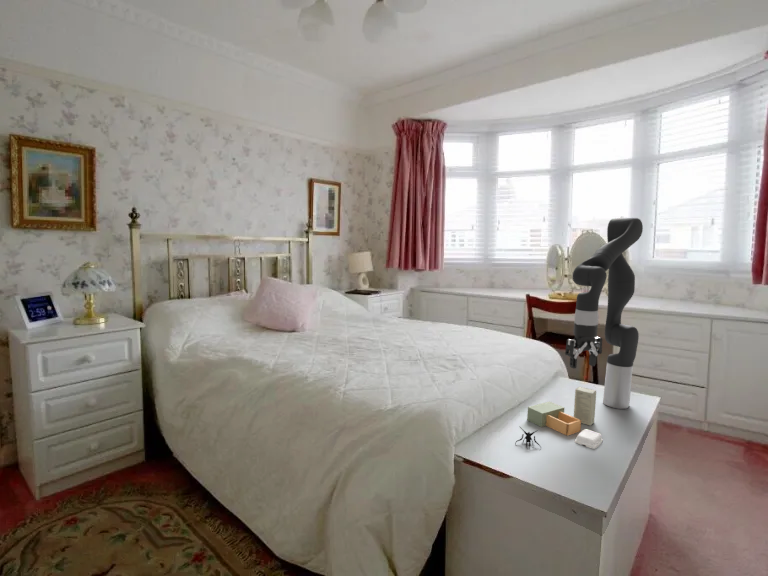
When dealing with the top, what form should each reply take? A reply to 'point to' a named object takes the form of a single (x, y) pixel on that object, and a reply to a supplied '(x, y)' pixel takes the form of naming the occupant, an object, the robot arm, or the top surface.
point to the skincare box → (585, 405)
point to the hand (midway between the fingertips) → (582, 366)
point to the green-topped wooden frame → (553, 418)
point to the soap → (589, 438)
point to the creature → (528, 438)
